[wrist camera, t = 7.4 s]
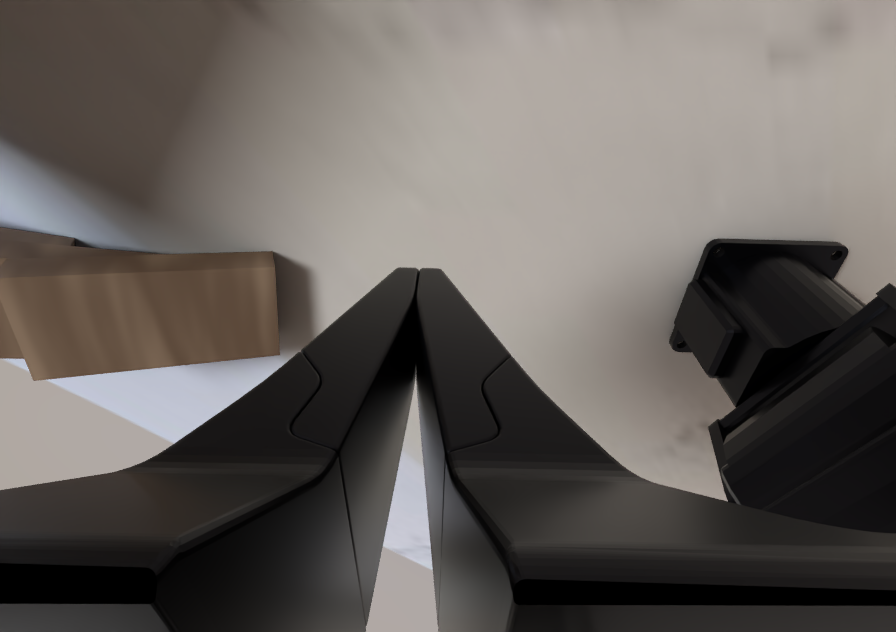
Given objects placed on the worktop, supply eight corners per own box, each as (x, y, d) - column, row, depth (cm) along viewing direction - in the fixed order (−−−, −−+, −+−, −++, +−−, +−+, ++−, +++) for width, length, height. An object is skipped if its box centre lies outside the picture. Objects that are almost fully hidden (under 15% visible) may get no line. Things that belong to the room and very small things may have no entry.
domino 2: (275, 267, 22) (-9, 278, 18) (279, 355, 24) (33, 380, 21) (272, 251, 23) (6, 259, 19) (277, 336, 26) (44, 358, 22)
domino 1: (178, 271, 22) (-140, 246, 17) (176, 359, 24) (-104, 358, 20) (180, 255, 23) (-116, 229, 19) (178, 340, 25) (-85, 335, 21)
